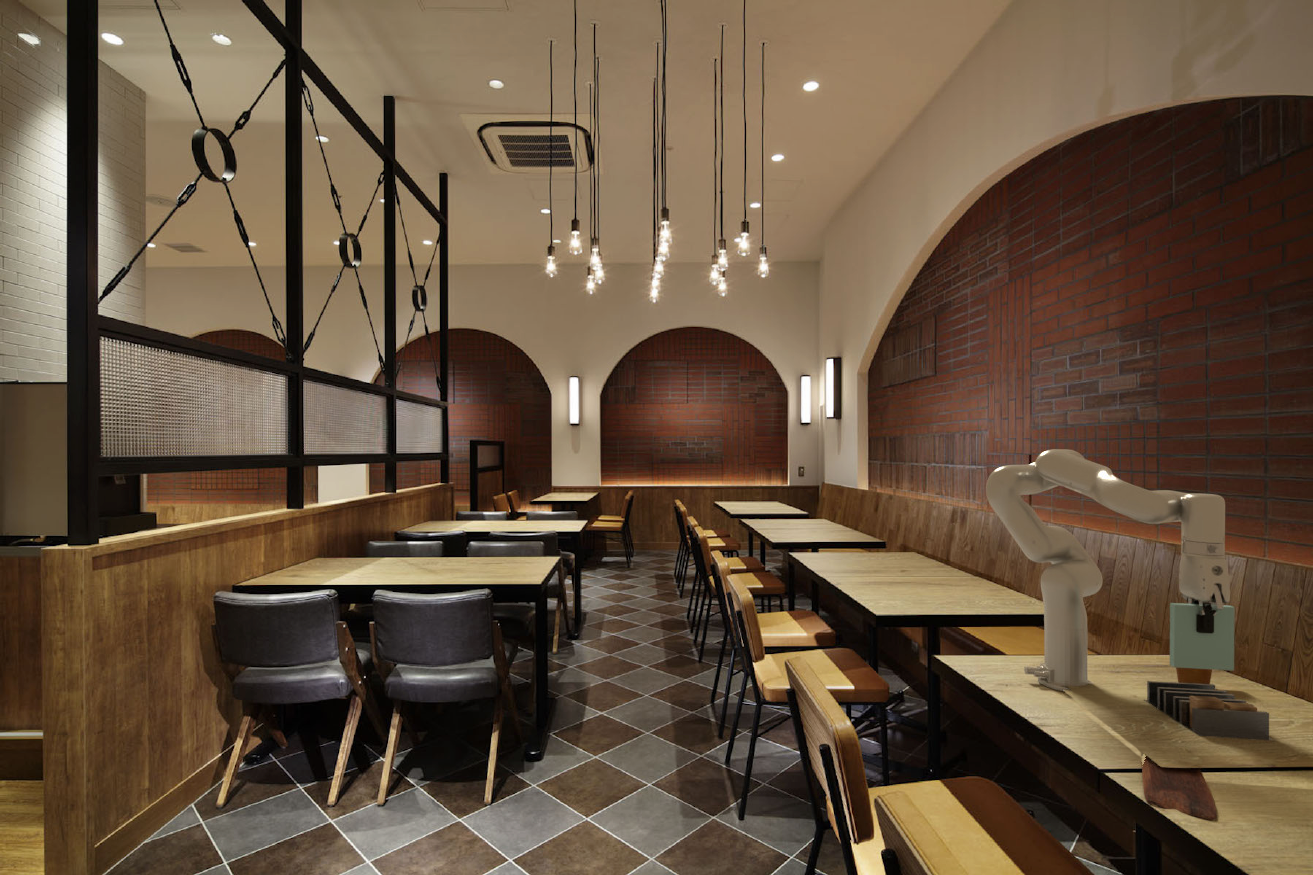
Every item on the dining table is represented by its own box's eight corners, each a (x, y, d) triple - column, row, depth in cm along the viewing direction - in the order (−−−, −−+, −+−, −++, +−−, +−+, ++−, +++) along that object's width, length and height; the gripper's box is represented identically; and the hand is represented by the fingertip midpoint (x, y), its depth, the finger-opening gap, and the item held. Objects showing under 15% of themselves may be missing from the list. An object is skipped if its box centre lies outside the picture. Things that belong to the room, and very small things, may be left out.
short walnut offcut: (1230, 732, 140) (1230, 706, 140) (1222, 727, 142) (1222, 701, 142) (1257, 734, 139) (1257, 707, 139) (1248, 729, 141) (1248, 703, 142)
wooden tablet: (1139, 742, 136) (1201, 750, 130) (1141, 753, 136) (1203, 761, 130) (1143, 799, 114) (1217, 811, 109) (1145, 812, 114) (1220, 825, 108)
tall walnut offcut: (1197, 730, 141) (1197, 699, 141) (1189, 725, 143) (1189, 695, 143) (1223, 732, 140) (1223, 701, 140) (1215, 727, 142) (1215, 696, 142)
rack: (1199, 742, 138) (1199, 711, 138) (1143, 705, 158) (1143, 678, 158) (1274, 747, 136) (1274, 715, 136) (1208, 709, 156) (1208, 681, 156)
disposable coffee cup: (1213, 683, 173) (1213, 637, 173) (1221, 694, 165) (1220, 646, 165) (1167, 676, 178) (1167, 632, 178) (1173, 687, 170) (1173, 640, 170)
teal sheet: (1174, 667, 148) (1174, 604, 148) (1169, 664, 149) (1170, 602, 149) (1233, 670, 146) (1234, 607, 146) (1228, 668, 147) (1229, 605, 147)
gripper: (1247, 555, 139) (1246, 642, 139) (1197, 544, 155) (1196, 622, 155) (1207, 554, 140) (1206, 640, 140) (1162, 543, 156) (1161, 620, 156)
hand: (1201, 630), depth 148 cm, fingers closed on teal sheet, 1 cm apart
